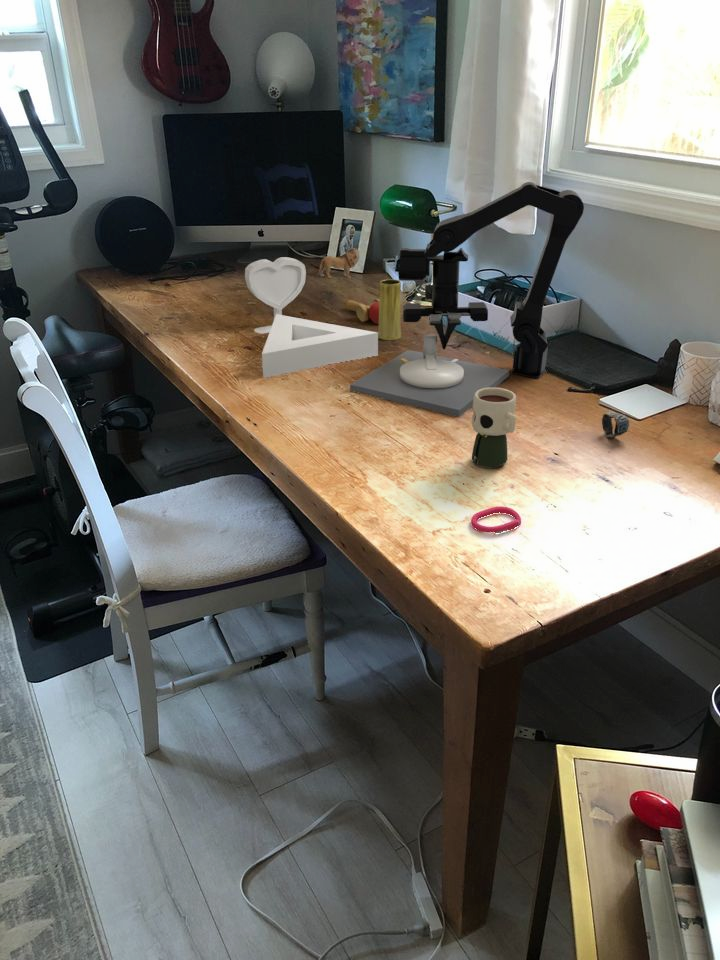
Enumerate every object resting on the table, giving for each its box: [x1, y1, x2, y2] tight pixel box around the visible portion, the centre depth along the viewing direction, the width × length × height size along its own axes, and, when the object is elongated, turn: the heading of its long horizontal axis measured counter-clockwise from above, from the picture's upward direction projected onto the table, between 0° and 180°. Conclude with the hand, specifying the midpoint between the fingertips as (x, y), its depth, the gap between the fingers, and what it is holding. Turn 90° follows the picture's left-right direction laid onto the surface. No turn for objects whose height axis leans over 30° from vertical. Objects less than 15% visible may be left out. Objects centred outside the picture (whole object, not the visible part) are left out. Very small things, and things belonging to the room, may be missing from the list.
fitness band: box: [470, 506, 522, 533], centre depth 118 cm, size 8×6×2 cm
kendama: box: [345, 298, 379, 325], centre depth 210 cm, size 8×6×18 cm
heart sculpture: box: [244, 256, 307, 335], centre depth 199 cm, size 16×5×18 cm, turn 116°
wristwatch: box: [601, 411, 630, 438], centre depth 143 cm, size 3×5×5 cm, turn 16°
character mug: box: [470, 387, 517, 469], centre depth 132 cm, size 11×7×13 cm, turn 30°
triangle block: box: [261, 314, 379, 379], centre depth 180 cm, size 30×26×6 cm
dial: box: [400, 333, 464, 388], centre depth 168 cm, size 18×14×6 cm
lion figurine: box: [315, 247, 360, 279], centre depth 248 cm, size 15×5×9 cm, turn 104°
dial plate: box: [349, 349, 510, 418], centre depth 168 cm, size 26×26×2 cm
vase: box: [377, 278, 402, 341], centre depth 193 cm, size 6×6×14 cm
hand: (443, 348), depth 174 cm, fingers closed
